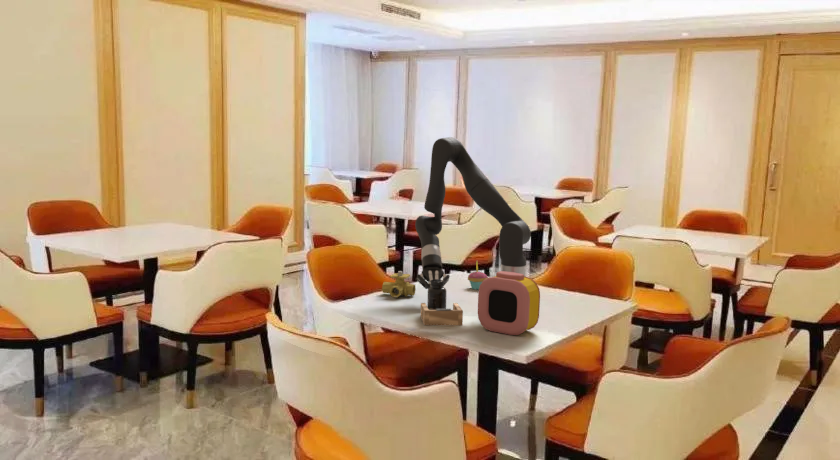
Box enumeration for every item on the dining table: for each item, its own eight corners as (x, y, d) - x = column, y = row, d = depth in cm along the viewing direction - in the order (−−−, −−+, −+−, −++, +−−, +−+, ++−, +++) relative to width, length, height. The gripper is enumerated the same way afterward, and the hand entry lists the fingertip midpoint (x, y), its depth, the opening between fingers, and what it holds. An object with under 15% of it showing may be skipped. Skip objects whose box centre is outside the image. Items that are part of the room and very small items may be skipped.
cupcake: (464, 286, 313) (465, 259, 312) (482, 286, 316) (484, 258, 314) (471, 290, 305) (472, 262, 304) (490, 290, 308) (491, 261, 306)
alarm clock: (475, 329, 244) (477, 272, 242) (490, 322, 253) (493, 267, 251) (525, 339, 234) (528, 279, 232) (540, 331, 243) (543, 274, 241)
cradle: (420, 316, 259) (420, 301, 258) (456, 316, 260) (457, 302, 260) (424, 325, 247) (424, 309, 247) (462, 325, 249) (462, 309, 248)
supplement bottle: (435, 309, 270) (436, 277, 269) (449, 312, 266) (450, 280, 264) (423, 312, 265) (424, 280, 263) (438, 316, 261) (439, 283, 259)
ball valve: (416, 295, 295) (416, 270, 293) (409, 300, 285) (410, 275, 284) (386, 292, 298) (386, 268, 297) (378, 297, 288) (378, 272, 287)
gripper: (415, 253, 277) (417, 291, 267) (449, 253, 279) (453, 292, 268) (413, 264, 283) (415, 302, 273) (447, 264, 285) (451, 302, 274)
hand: (434, 297), depth 271 cm, fingers closed
